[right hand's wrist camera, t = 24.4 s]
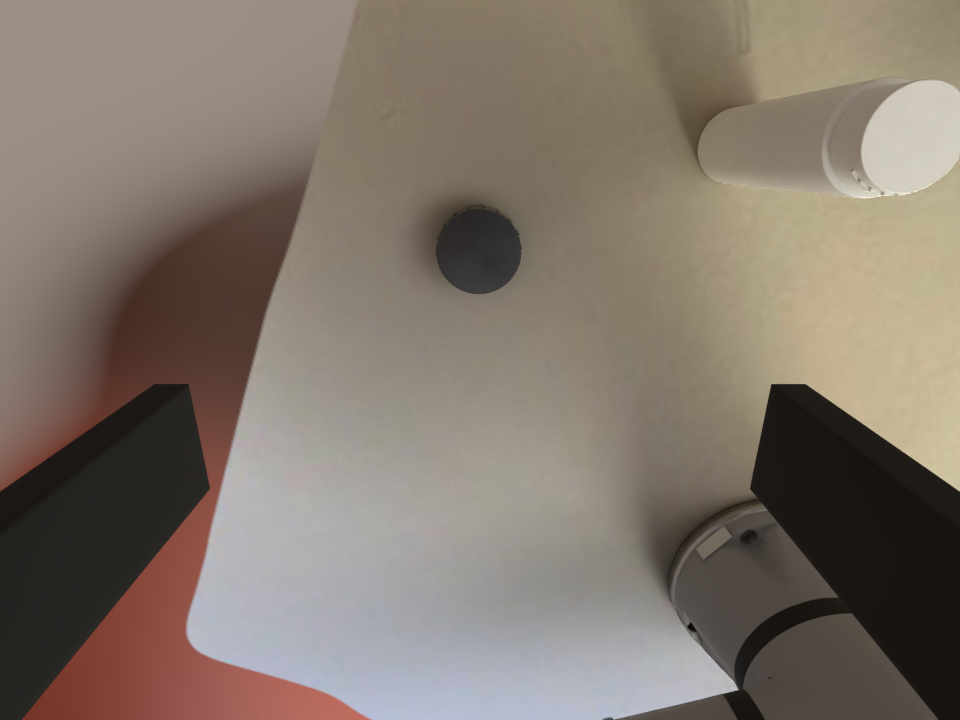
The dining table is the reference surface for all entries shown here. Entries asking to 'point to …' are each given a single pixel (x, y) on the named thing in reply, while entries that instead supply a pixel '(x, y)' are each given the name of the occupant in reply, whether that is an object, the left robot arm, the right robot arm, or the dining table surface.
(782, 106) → the jar
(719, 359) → the dining table surface
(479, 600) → the dining table surface
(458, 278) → the lid
